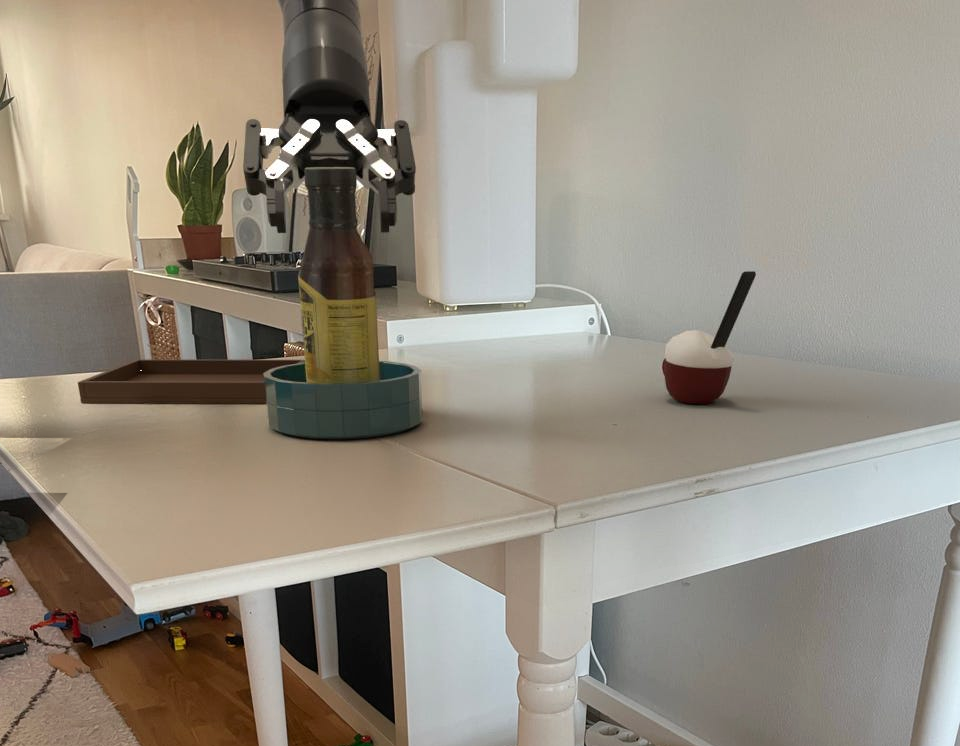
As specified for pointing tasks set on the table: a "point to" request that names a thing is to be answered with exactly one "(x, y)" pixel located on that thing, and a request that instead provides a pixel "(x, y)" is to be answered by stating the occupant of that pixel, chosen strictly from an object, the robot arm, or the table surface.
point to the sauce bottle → (337, 284)
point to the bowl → (343, 403)
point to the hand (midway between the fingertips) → (333, 225)
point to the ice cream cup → (704, 355)
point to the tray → (181, 381)
